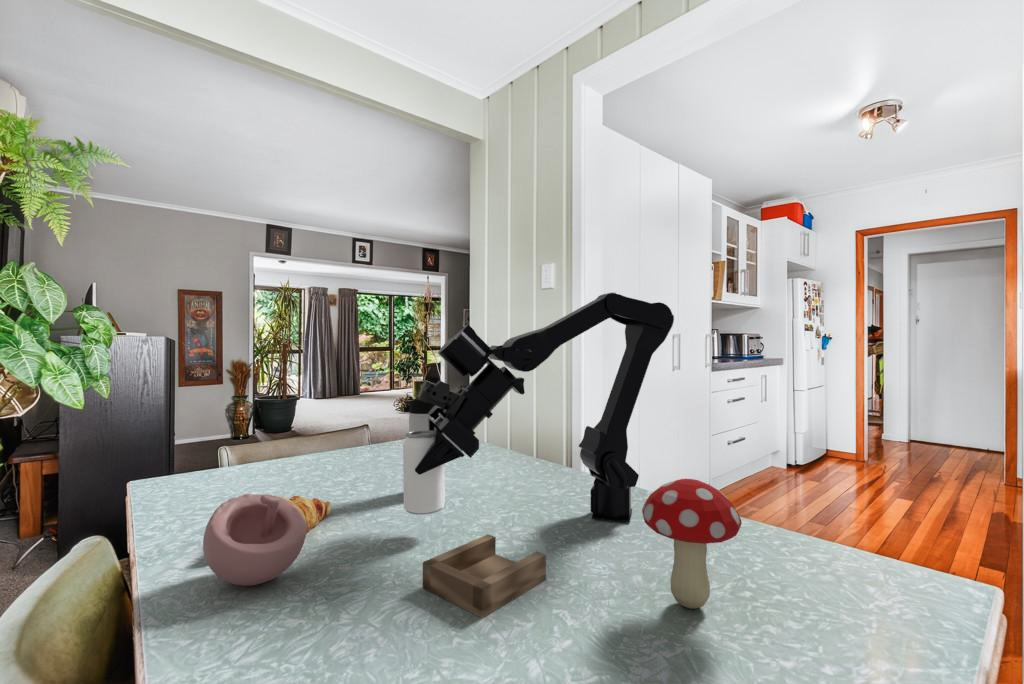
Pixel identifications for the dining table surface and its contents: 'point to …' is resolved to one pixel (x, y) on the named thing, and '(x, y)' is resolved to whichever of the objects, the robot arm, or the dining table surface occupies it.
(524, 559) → the cradle
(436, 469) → the can
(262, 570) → the mortar and pestle
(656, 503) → the decorative mushroom
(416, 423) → the travel mug
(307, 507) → the croissant
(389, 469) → the dining table surface
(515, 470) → the dining table surface
